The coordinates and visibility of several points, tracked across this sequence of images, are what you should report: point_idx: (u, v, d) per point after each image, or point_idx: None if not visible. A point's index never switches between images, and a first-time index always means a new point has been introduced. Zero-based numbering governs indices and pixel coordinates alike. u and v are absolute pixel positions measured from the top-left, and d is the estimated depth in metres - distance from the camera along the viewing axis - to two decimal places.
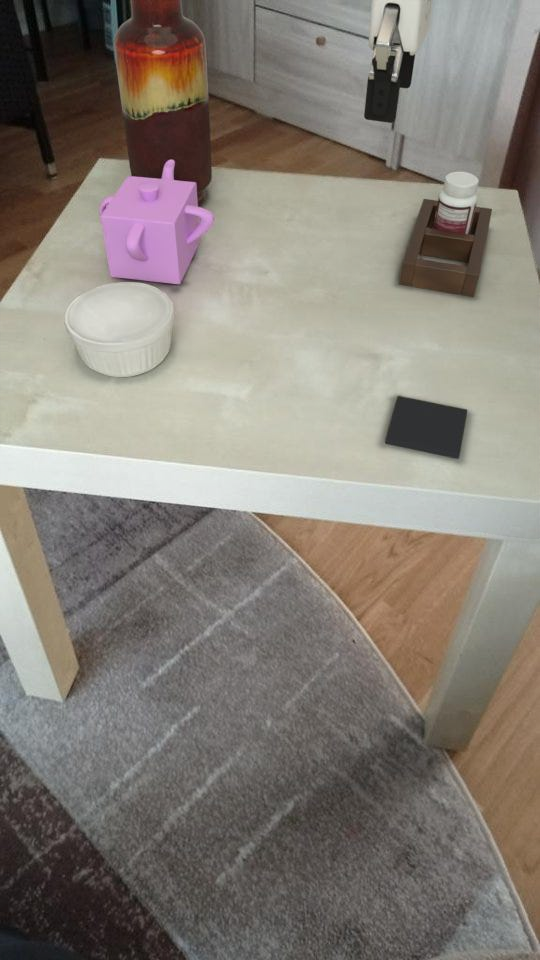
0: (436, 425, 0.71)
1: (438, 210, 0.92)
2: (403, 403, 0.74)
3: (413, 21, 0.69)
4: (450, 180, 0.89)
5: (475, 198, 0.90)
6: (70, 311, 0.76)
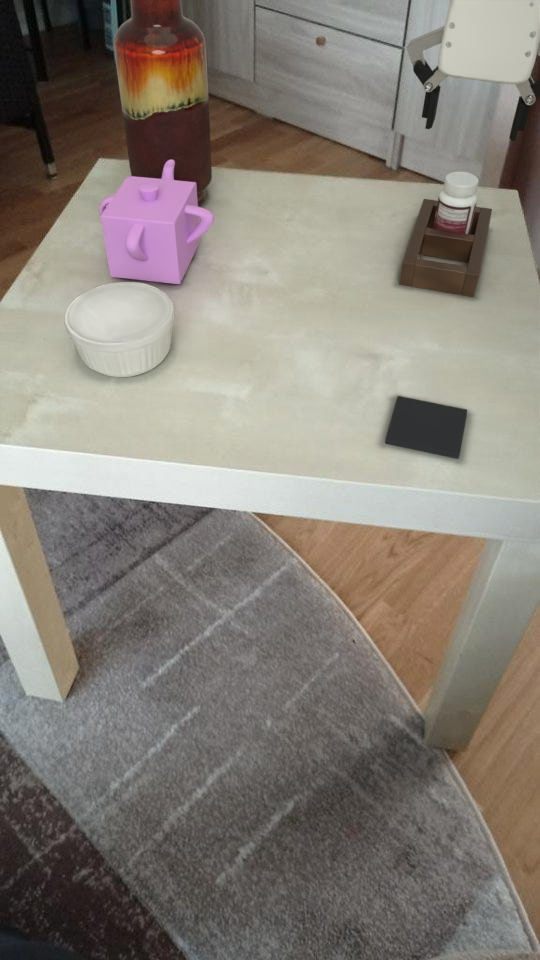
0: (436, 425, 0.71)
1: (438, 210, 0.92)
2: (403, 403, 0.74)
3: None
4: (450, 179, 0.89)
5: (475, 198, 0.90)
6: (69, 311, 0.76)
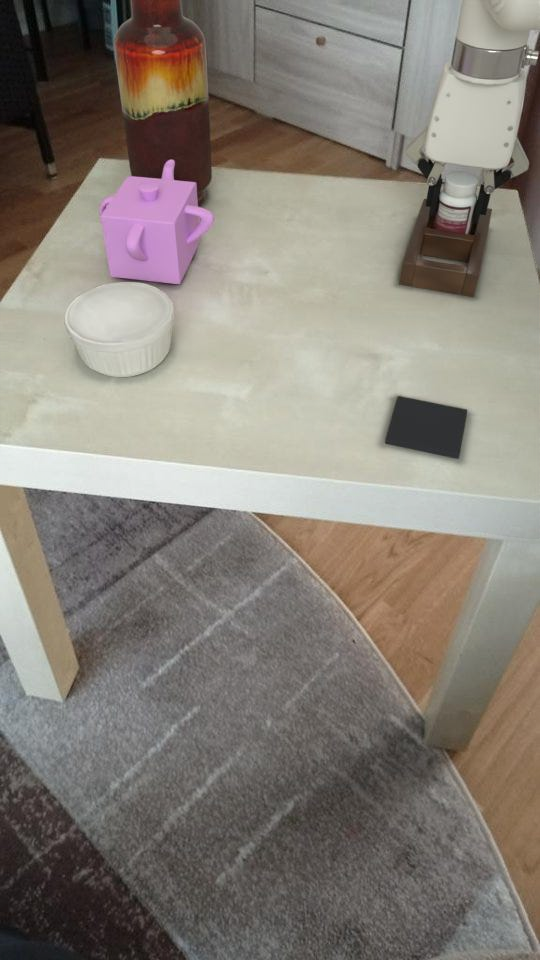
0: (436, 425, 0.71)
1: (438, 210, 0.92)
2: (403, 403, 0.74)
3: None
4: (450, 180, 0.89)
5: (475, 198, 0.90)
6: (70, 311, 0.76)
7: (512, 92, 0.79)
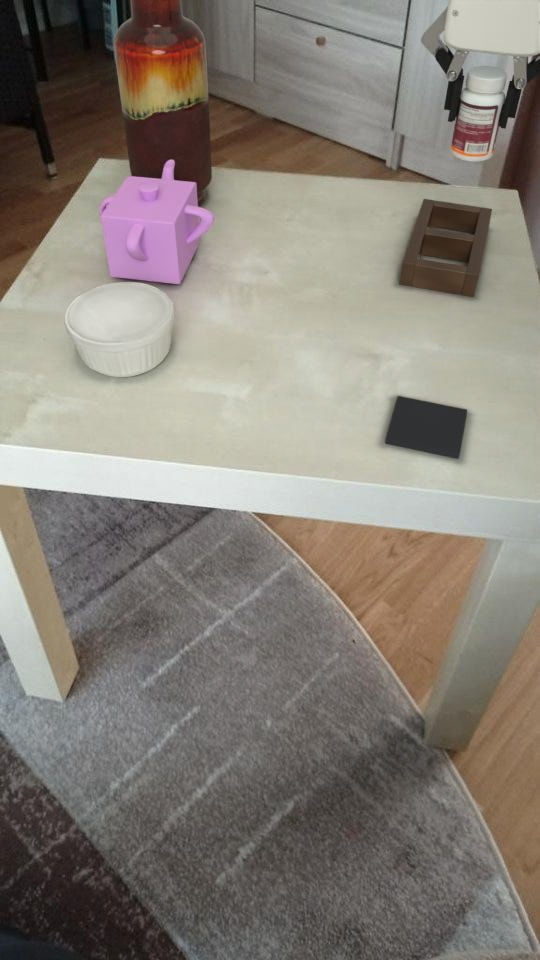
0: (436, 425, 0.71)
1: (459, 113, 0.79)
2: (403, 403, 0.74)
3: None
4: (474, 73, 0.76)
5: (503, 96, 0.77)
6: (70, 311, 0.76)
7: None
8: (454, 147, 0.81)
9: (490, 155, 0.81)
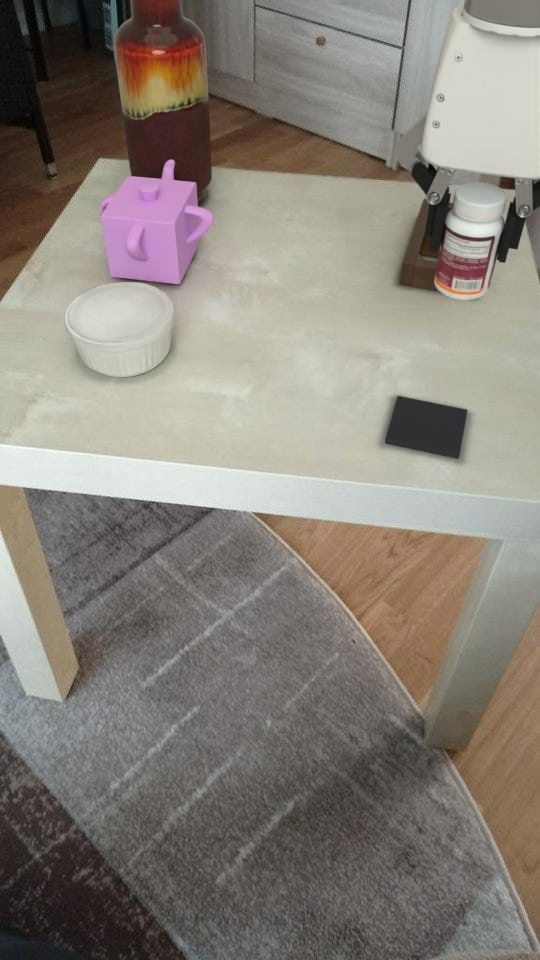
0: (436, 425, 0.71)
1: (444, 241, 0.60)
2: (403, 403, 0.74)
3: None
4: (463, 195, 0.57)
5: (502, 223, 0.58)
6: (69, 311, 0.76)
7: None
8: (439, 281, 0.62)
9: (485, 291, 0.62)
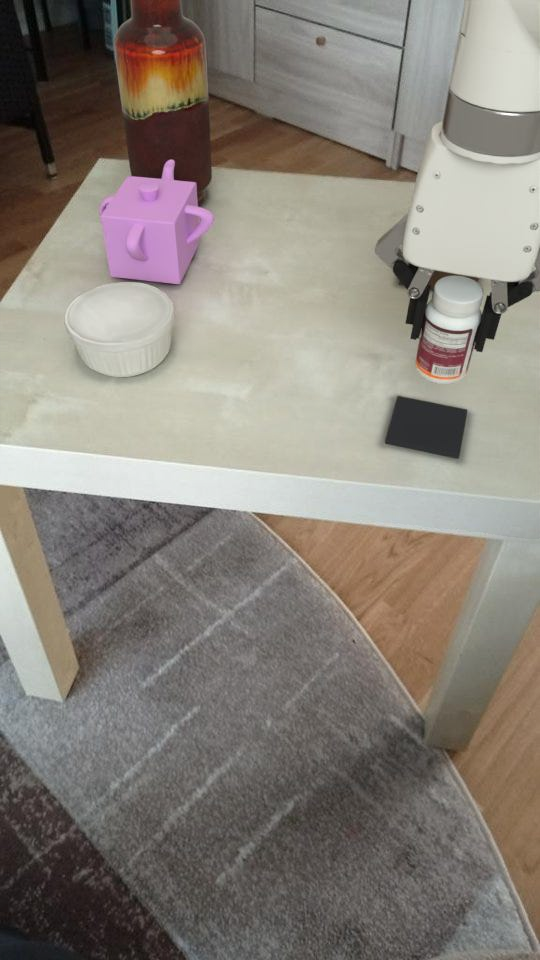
0: (436, 425, 0.71)
1: (424, 330, 0.63)
2: (403, 403, 0.74)
3: None
4: (442, 290, 0.60)
5: (479, 316, 0.61)
6: (70, 311, 0.76)
7: (538, 174, 0.50)
8: (419, 366, 0.65)
9: (464, 375, 0.65)
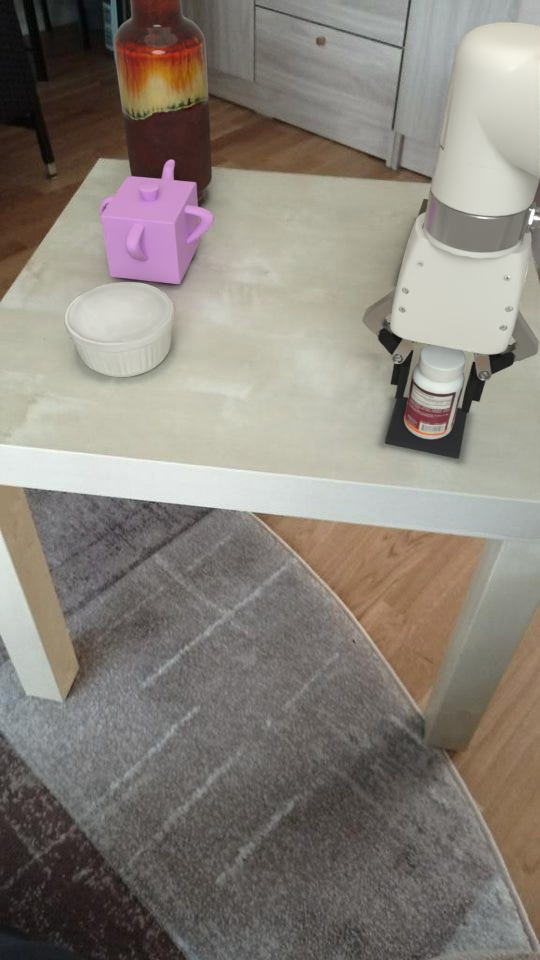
0: None
1: (412, 392, 0.68)
2: (403, 403, 0.74)
3: None
4: (427, 357, 0.65)
5: (462, 380, 0.66)
6: (70, 311, 0.76)
7: (512, 266, 0.55)
8: (408, 422, 0.70)
9: (449, 431, 0.70)
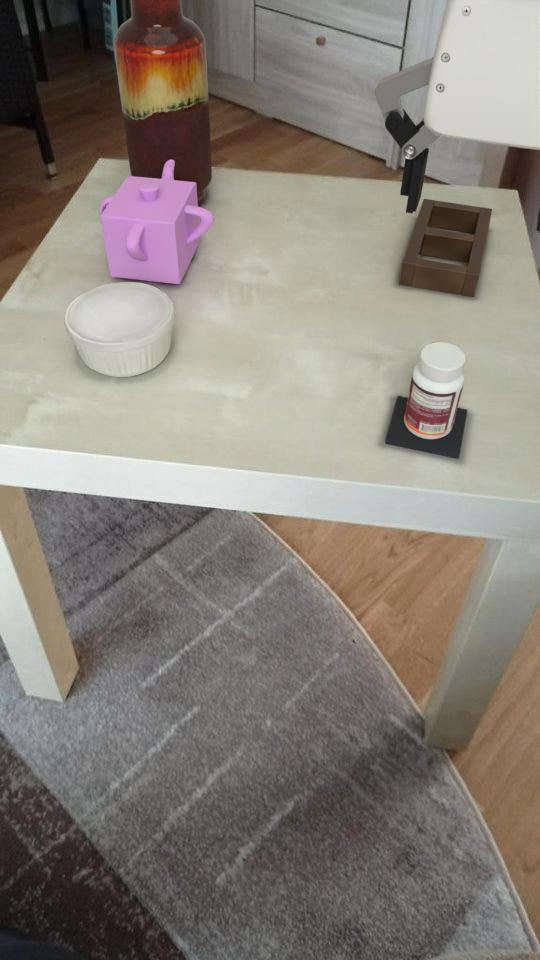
0: None
1: (412, 392, 0.68)
2: (403, 403, 0.74)
3: None
4: (427, 357, 0.65)
5: (462, 380, 0.66)
6: (70, 311, 0.76)
7: None
8: (408, 422, 0.70)
9: (449, 431, 0.70)
